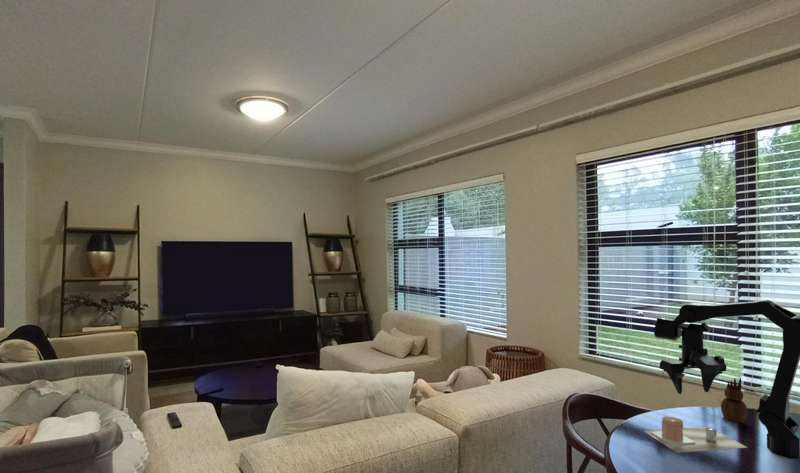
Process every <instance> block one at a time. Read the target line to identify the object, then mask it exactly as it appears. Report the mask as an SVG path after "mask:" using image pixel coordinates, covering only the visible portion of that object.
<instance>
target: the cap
mask: <svg viewBox="0 0 800 473" xmlns="http://www.w3.org/2000/svg"><path fill="white" fill-rule="evenodd" d="M683 428H684V421H683V420H682V419H681V418H678V417H675V416H674V417H673V416H663V417H662V418H661V430H662V436H663V437H665V438H666V439H669V440H673V441H683Z"/></svg>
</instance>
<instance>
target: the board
mask: <svg viewBox="0 0 800 473" xmlns="http://www.w3.org/2000/svg"><path fill="white" fill-rule="evenodd" d="M706 427H707V426H699V427H697V426H696V427H685V428H684V427H683V435H684V436H685V437H687V438H689V439H691V440H692V441H694V442H695V444H687V445H673V446H669V445H668V444H666V443H665V442H663V441H662V440H660V439H659V438H657V437H656V436H654V435H652V434H651V432H656V431H662V429H649V430H643V432H644V433H646V434H648V435H649V436H651V437H652V438H653V439H655V440H657V441H658V442H660V443H661V444H662V445H664V446H666V447H668V448H669V449H670V450H672V451H673V452H675V453H677V454H678V453H681V454H682V453H691V452H706V451H709V452H710V451H720V450H734V449H737V450H738V449H747V448H748V447H747V446H745V445H744V444H742V443H740V442H738V441H737V440H734V439H732V438H730V437H729V436H727V435H725V434H723V433H721V432H719V431H717V430H716V436H717V442H716V443H710V442H707V441H706Z"/></svg>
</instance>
